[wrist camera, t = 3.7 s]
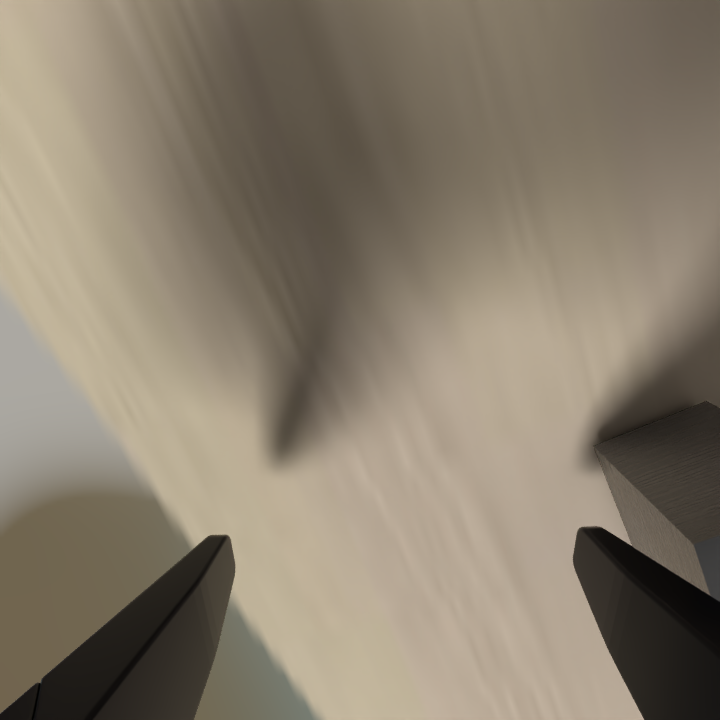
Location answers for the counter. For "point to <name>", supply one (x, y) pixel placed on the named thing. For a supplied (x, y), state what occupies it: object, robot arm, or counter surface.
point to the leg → (671, 491)
